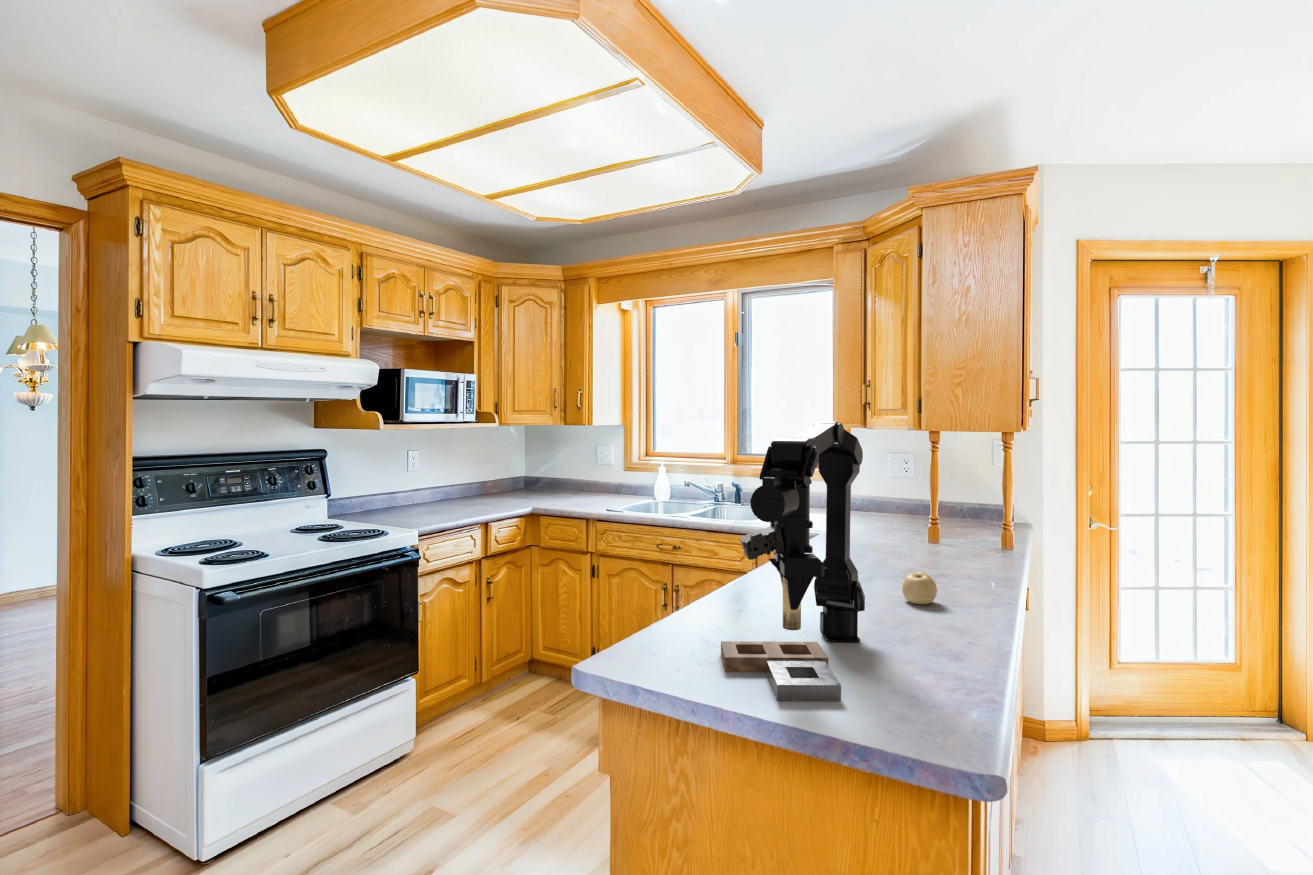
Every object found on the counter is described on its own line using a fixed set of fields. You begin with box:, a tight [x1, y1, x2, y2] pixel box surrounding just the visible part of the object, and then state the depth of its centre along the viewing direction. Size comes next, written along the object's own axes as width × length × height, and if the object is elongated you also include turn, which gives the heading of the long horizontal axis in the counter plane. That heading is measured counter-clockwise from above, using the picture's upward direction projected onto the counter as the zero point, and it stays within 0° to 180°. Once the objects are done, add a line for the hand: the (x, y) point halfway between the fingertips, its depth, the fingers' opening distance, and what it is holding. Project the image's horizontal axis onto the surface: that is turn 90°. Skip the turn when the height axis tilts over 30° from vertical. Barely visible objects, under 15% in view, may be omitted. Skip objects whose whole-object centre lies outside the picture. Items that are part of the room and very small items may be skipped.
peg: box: [782, 577, 802, 631], centre depth 107 cm, size 3×3×9 cm
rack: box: [720, 640, 829, 673], centre depth 115 cm, size 18×8×2 cm, turn 89°
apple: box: [901, 571, 938, 605], centre depth 154 cm, size 8×8×8 cm
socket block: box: [766, 661, 842, 702], centre depth 105 cm, size 10×10×2 cm
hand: (791, 606), depth 107 cm, fingers closed on peg, 3 cm apart
